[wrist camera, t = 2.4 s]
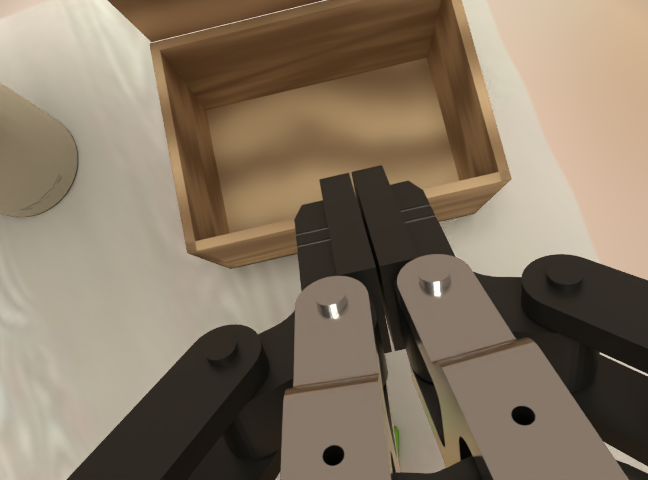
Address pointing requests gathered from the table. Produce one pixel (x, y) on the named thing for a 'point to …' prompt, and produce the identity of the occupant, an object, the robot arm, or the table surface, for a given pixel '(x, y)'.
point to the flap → (194, 14)
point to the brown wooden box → (322, 117)
